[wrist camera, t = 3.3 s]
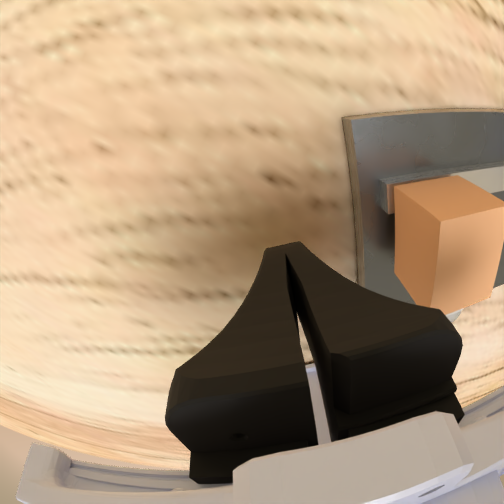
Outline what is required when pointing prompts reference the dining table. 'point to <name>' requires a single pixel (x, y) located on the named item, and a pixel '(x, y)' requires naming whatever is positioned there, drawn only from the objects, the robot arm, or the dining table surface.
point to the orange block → (447, 242)
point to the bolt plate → (414, 175)
